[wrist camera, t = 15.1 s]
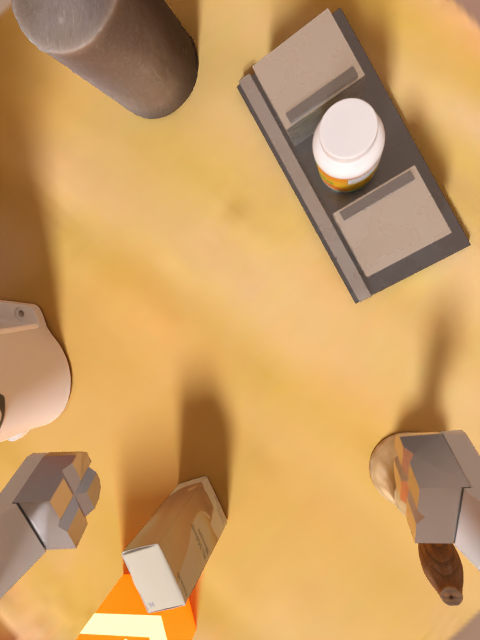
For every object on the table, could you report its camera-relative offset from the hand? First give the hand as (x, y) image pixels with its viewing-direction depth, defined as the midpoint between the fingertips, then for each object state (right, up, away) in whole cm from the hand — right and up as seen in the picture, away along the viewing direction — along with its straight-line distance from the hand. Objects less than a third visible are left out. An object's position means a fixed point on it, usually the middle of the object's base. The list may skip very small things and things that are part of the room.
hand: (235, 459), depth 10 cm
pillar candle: (-9, +30, +31) cm, 44 cm away
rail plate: (+10, +18, +27) cm, 34 cm away
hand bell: (+18, -12, +29) cm, 36 cm away
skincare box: (-4, -18, +36) cm, 41 cm away
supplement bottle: (+10, +18, +26) cm, 33 cm away
